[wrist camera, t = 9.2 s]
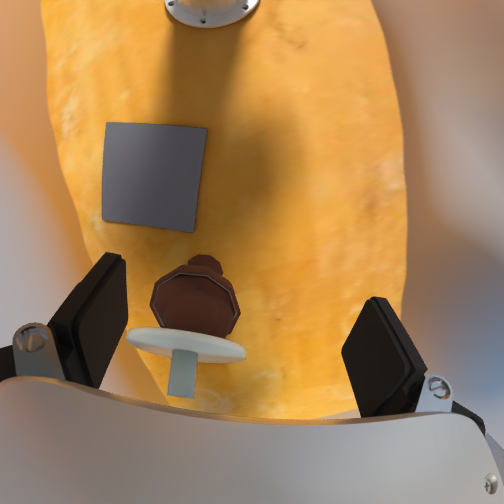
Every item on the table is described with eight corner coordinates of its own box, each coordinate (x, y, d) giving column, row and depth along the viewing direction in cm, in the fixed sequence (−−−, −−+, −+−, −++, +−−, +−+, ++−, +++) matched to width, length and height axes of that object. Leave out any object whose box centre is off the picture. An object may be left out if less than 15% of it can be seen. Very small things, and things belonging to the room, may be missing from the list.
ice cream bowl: (153, 261, 41) (116, 325, 27) (215, 222, 39) (197, 280, 25) (195, 311, 45) (178, 383, 31) (255, 281, 42) (258, 353, 29)
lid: (113, 318, 23) (101, 380, 20) (256, 339, 24) (253, 403, 21) (140, 346, 34) (134, 388, 31) (238, 360, 35) (235, 403, 32)
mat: (108, 122, 32) (106, 122, 31) (207, 128, 33) (206, 128, 33) (103, 218, 38) (102, 219, 37) (194, 231, 39) (193, 233, 38)
